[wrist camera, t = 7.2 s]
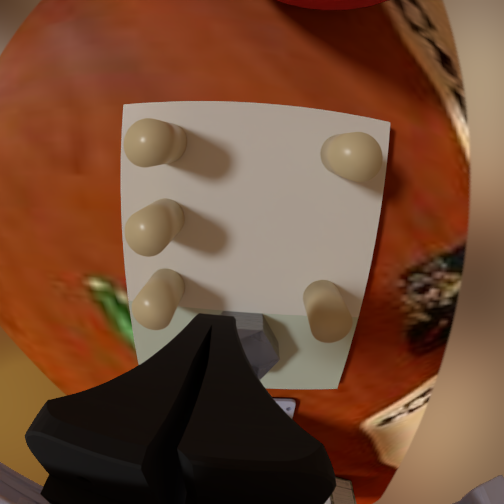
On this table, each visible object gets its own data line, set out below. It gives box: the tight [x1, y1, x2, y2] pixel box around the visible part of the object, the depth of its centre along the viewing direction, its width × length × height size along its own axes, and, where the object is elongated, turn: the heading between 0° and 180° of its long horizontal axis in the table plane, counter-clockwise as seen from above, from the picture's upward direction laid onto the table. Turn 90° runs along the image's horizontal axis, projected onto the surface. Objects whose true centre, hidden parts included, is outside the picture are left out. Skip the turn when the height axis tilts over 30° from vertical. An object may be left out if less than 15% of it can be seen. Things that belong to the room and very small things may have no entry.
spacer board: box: [121, 101, 390, 389], centre depth 18 cm, size 20×16×4 cm
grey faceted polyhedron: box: [220, 311, 280, 380], centre depth 20 cm, size 5×4×2 cm
